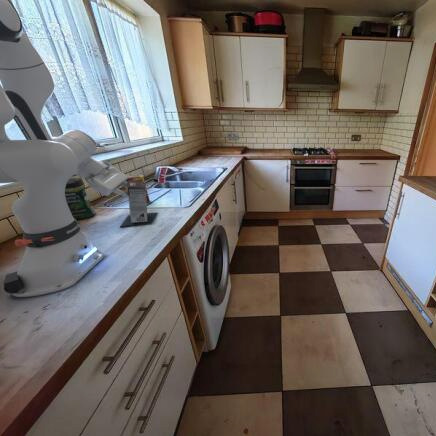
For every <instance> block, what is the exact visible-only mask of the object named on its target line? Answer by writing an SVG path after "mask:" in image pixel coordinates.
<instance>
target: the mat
mask: <svg viewBox="0 0 436 436" xmlns="http://www.w3.org/2000/svg"><path fill="white" fill-rule="evenodd" d="M157 214H158V212H147V217H148V221H147V222H133V223H131V216H130V214H128V215H127V217H126V219H125V220H124V221H122V224H121V225H120V226H119V227H120V228H129V227H138V226H147V225H152V223H154V220H155V218H156V217H157Z"/></svg>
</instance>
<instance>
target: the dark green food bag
mask: <svg viewBox="0 0 436 436" xmlns="http://www.w3.org/2000/svg"><path fill="white" fill-rule="evenodd" d="M65 198H66V201H67V204H68V207H69V209H70V211H71V214H72V216H73V218H75V219H76V220H83V219H88V218H92V217H94V215H95V214H96V209H95V207H94V206H93V204H92V202H91V200H90V198H89V196H88V194H87V192H86V185H85V182H84V181H83V180H82V178H81V177H71V178H70V179H69V180H68V182H67V184H66V187H65Z"/></svg>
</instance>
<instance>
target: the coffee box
mask: <svg viewBox="0 0 436 436" xmlns="http://www.w3.org/2000/svg"><path fill="white" fill-rule="evenodd" d="M145 185H146V182H145V183H144V182H136V181H128V182H127V186H128V195H127V197H128V207H129V215H130V216H131V223H133V222H147V221H148V217H147V213H148V204H147V201H146V189H147V186H146V187H145Z"/></svg>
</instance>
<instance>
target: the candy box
mask: <svg viewBox="0 0 436 436" xmlns="http://www.w3.org/2000/svg"><path fill="white" fill-rule="evenodd" d="M127 177H128V179H127V180H126V182H128V181H136V182H144V183H145V187H146V201H147V205H149V204H151V199H150V197H149V192H148V189H147V185H146V181H145V178H144V174H138V175H137V174H136V175H129V176H128V175H127ZM124 188H125V191H126V192H127V193H128V190H127V188H126V187H124Z"/></svg>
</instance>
